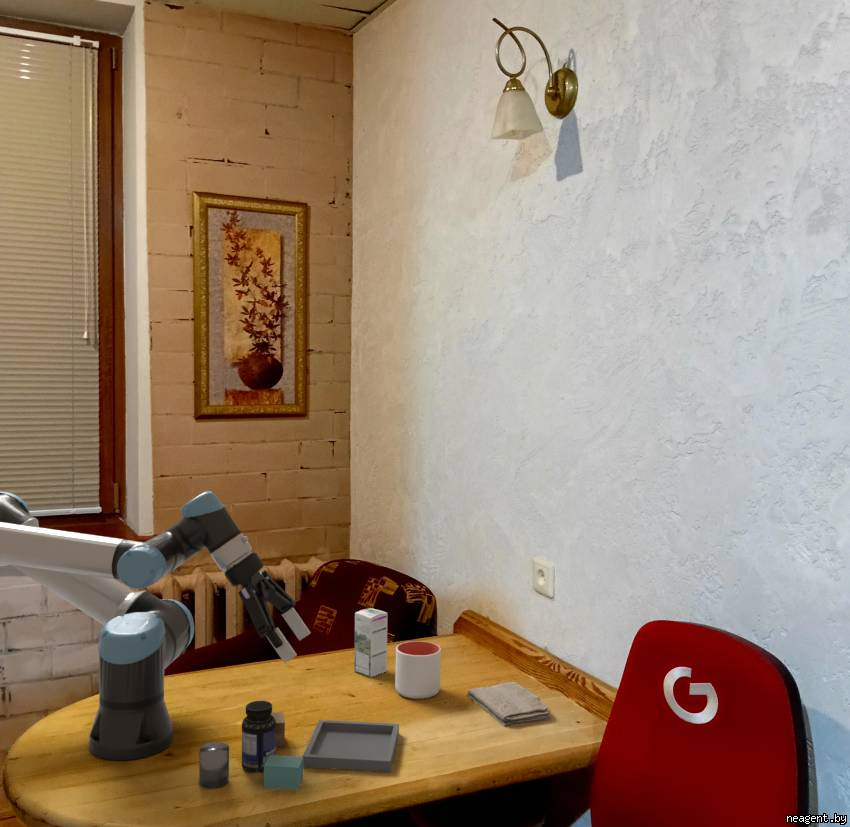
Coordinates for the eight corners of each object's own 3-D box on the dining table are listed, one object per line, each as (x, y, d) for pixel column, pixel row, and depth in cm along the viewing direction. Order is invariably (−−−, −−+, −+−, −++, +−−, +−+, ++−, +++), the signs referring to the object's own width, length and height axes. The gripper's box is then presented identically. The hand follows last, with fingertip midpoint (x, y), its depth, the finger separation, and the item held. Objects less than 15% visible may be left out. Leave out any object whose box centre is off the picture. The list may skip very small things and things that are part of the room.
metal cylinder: (195, 788, 147) (195, 754, 147) (204, 774, 152) (204, 741, 152) (223, 789, 147) (224, 755, 146) (232, 775, 152) (232, 742, 151)
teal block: (263, 788, 148) (264, 765, 148) (269, 777, 152) (269, 755, 152) (298, 790, 147) (298, 767, 147) (303, 779, 151) (303, 757, 151)
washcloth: (505, 730, 174) (505, 715, 174) (464, 698, 191) (464, 684, 190) (554, 721, 179) (555, 707, 179) (511, 690, 196) (511, 677, 195)
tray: (302, 767, 155) (302, 756, 155) (318, 729, 171) (319, 719, 171) (390, 772, 154) (390, 761, 154) (399, 733, 170) (399, 723, 170)
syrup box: (387, 671, 204) (389, 611, 203) (370, 678, 200) (371, 616, 199) (370, 665, 208) (371, 606, 207) (352, 672, 204) (354, 611, 203)
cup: (435, 703, 186) (436, 657, 186) (390, 698, 188) (391, 653, 188) (443, 686, 196) (444, 643, 195) (400, 682, 198) (401, 639, 197)
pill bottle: (273, 755, 160) (273, 697, 159) (278, 770, 154) (279, 710, 153) (239, 759, 158) (239, 700, 157) (243, 774, 152) (244, 713, 151)
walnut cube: (257, 750, 162) (257, 724, 162) (257, 738, 167) (257, 713, 167) (284, 748, 163) (284, 722, 163) (283, 737, 168) (283, 712, 168)
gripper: (235, 565, 161) (300, 658, 161) (268, 538, 186) (324, 618, 186) (203, 587, 162) (267, 679, 162) (240, 557, 187) (296, 637, 187)
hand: (298, 647), depth 174 cm, fingers open, 13 cm apart
